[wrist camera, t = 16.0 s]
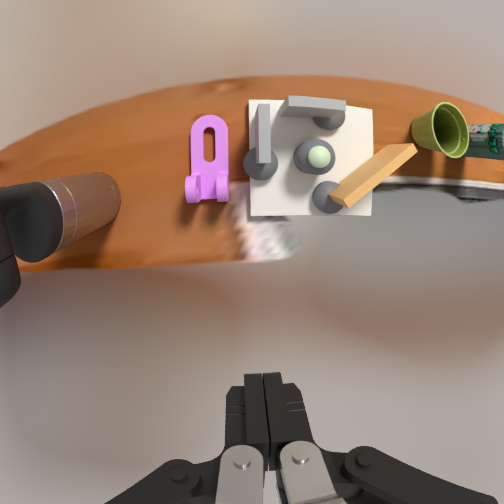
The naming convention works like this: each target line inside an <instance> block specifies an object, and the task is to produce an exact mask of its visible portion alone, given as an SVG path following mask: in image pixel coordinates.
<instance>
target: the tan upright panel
mask: <svg viewBox="0 0 504 504" xmlns="http://www.w3.org/2000/svg"><path fill="white" fill-rule="evenodd" d="M417 152H418V151H417V150H416V148H415V146H414V144H413V143H408V144H392V145H386V146H385V147H384V148H383V149H381V150H380V151H379V152H377V153H376V154H375V155H374V156H372V157H371V158H370V159H368V160H367V161H366V162H365V163H363V164H362V165H361V166H359V167H358V168H357V169H356V170H354V171H353V172H352V173H351V174H349V175H348V176H347V177H345V178H344V179H343V180H342V181H340V182H339V183H336V182H332V181H323V182H321V183H319V184H318V185H317V186H316V187H315V189H314V191H313V195H312V198H313V203H314V205H315V206H316V207H317V208H318V209H319V210H320V211H322V212H324V213H326V214H334V213H337V212H338V211H340V210H341V209H342V208H343V206H345V207H347V208H350V207H351V206H352V205H353V204H355V203H356V202H357V201H358V200H360V199H361V198H362V197H363V196H365V195H366V194H367V193H368V192H369V191H371V190H372V189H373V188H374V187H376V186H377V185H378V184H379V183H380V182H382V181H383V180H384V179H385V178H387V177H388V176H389V175H390V174H391V173H393V172H394V171H395V170H396V169H397V168H399V167H400V166H401V165H402V164H403V163H405V162H406V161H407V160H408V159H409V158H411V157H412V156H413V155H414V154H415V153H417Z"/></svg>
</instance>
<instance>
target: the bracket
mask: <svg viewBox="0 0 504 504" xmlns="http://www.w3.org/2000/svg"><path fill="white" fill-rule="evenodd" d="M207 128H213V129H214V130H215V148H216V157H215V160H214V161H213V162H207V161H206V160H205V158H204V131H205V130H206V129H207ZM191 171H192V173H191V176H187V177H186V182H185V194H186V200H187V203H198V202H199V201H200V200H201V199H217V201H218V202H227V201H228V200H229V166H228V129H227V126H226V124H225V122H224V121H223V120H222V119H221V118H219V117H217V116H214V115H206V116H203V117H201V118H199V119H198V120H197V121H196V122H195V123H194V124H193V126H192V129H191Z"/></svg>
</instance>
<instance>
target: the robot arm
mask: <svg viewBox="0 0 504 504" xmlns="http://www.w3.org/2000/svg"><path fill="white" fill-rule="evenodd" d="M119 207H120V192H119V189H118V186H117V184H116V183H115V181H114V180H113V179H112V178H111V177H109V176H108V175H106V174H103V173H91V174H82V175H75V176H67V177H61V178H54V179H48V180H43V181H37V182H31V183H26V184H19V185H14V186H8V187H1V188H0V308H1V307H2V306H3V305H5V304H6V303H7V302H8V301H9V300H10V299H11V298H12V297H13V296H14V295H15V294H16V293H17V291H18V289H19V287H20V284H21V277H20V272H19V268H18V264H17V261H16V258H15V255H16V256H17V257H18V258H20V259H21V260H23V261H26V262H30V263H33V262H39V261H41V260H43V259H45V258H47V257H48V256H50V255H51V254H53V253H55V252H57V251H58V250H60V249H62V248H63V247H65V246H67V245H69V244H70V243H72V242H74V241H76V240H78V239H79V238H81V237H83V236H85V235H87V234H89V233H90V232H92V231H94V230H96V229H98V228H100V227H102V226H104V225H106V224H108V223H109V222H111V221H112V220H113V219H114V218H115V216H116V215H117V213H118V210H119ZM225 423H226V424H225V447H224V450H223V451H222V453H221V454H220V455H219V456H218V457H217V458H215V459H213V460H211V461H207V462H203V463H199V464H192V463H191V462H189V461H187V460H182V459H175V460H170V461H168V462H166V463H164V464H163V465H161V466H160V467H159V468H157V469H156V470H155V471H153V472H152V473H150V474H149V475H148V476H146V477H145V478H143V479H142V480H140V481H139V482H138V483H136V484H134V485H133V486H131V487H130V488H129V489H127V490H126V491H124V492H122V493H121V494H119V495H118V496H116V497H114V498H113V499H111V500H110V501H108V502H106V503H105V504H263V488H264V478H265V471H268V463H269V471H274V470H275V471H276V479H277V482H276V489H277V493H278V497H279V502H280V504H498V502H497V500H496V499H495V498H494V497H492V496H490V495H486V494H483V493H479V492H476V491H473V490H470V489H467V488H464V487H461V486H458V485H456V484H453V483H450V482H448V481H445V480H443V479H440V478H438V477H435V476H432V475H430V474H428V473H425V472H423V471H421V470H419V469H416V468H414V467H412V466H410V465H408V464H405V463H403V462H401V461H399V460H397V459H395V458H393V457H391V456H389V455H387V454H385V453H383V452H381V451H379V450H377V449H375V448H373V447H369V446H360V447H356V448H354V449H352V450H351V451H350V452H349V453H339V452H330V451H326V450H324V449H322V448H320V447H319V446H318V445H317V444H316V443H315V442H314V440H313V437H312V433H311V430H310V426H309V422H308V418H307V414H306V411H305V406H304V403H303V398H302V395H301V391H300V390H299V389H298V388H297V386H296V385H295V384H294V383H288V384H283V383H282V378H281V373H280V372H274V373H263V376H262V374H261V373H259V374H244V386H232V387H231V388H230V390H229V392H228V393H227V395H226V421H225Z"/></svg>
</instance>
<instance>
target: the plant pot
mask: <svg viewBox="0 0 504 504" xmlns="http://www.w3.org/2000/svg"><path fill="white" fill-rule="evenodd" d="M411 126H412V131H411V134H412V137H413V139H414V141H415V142H416V144H417V145H419V146H420V147H422V148H426V149H430V150H435V151H440V152H442V153H444V154H445V155H447V156H448V157H451V158H459V157H461V156H462V155H463V154H464V153H465V152H466V150H467V148H468V144H469V130H468V126H467V123H466V120H465V118H464V116H463V115H462V113H461V112H460V110H459V109H458V108H457V107H455V106H454V105H453V104H451V103H448V102H442V103H439V104H437V105H436V106H435V108H434V109H433V110H432V111H430V112H428V113H425V114H423V115H421V116H419V117H416V118H415V119H414V120H413V122H412V124H411Z"/></svg>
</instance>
